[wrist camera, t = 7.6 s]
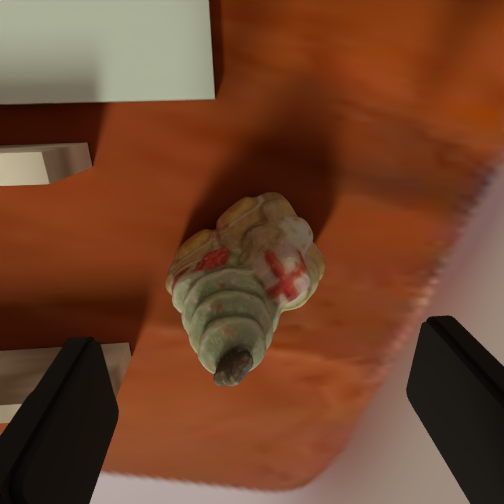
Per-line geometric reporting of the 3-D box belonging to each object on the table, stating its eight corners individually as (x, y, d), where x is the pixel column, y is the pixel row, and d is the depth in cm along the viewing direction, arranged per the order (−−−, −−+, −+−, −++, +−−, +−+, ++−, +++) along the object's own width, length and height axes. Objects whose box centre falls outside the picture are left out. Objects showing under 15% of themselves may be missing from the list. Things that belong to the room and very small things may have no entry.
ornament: (261, 166, 18) (300, 222, 9) (328, 244, 20) (418, 357, 11) (158, 260, 19) (98, 391, 10) (230, 323, 21) (234, 481, 12)
